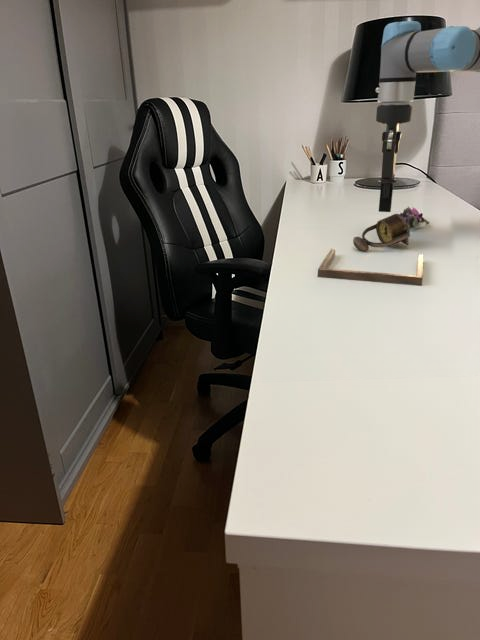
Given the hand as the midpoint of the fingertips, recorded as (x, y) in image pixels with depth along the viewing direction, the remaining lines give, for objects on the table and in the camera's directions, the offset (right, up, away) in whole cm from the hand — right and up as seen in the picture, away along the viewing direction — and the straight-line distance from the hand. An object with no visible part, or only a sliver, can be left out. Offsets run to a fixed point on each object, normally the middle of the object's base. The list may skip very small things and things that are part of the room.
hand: (384, 211), depth 120 cm
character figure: (+10, -1, +12) cm, 16 cm away
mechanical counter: (-3, -9, -5) cm, 11 cm away
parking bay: (-8, -16, -19) cm, 26 cm away
